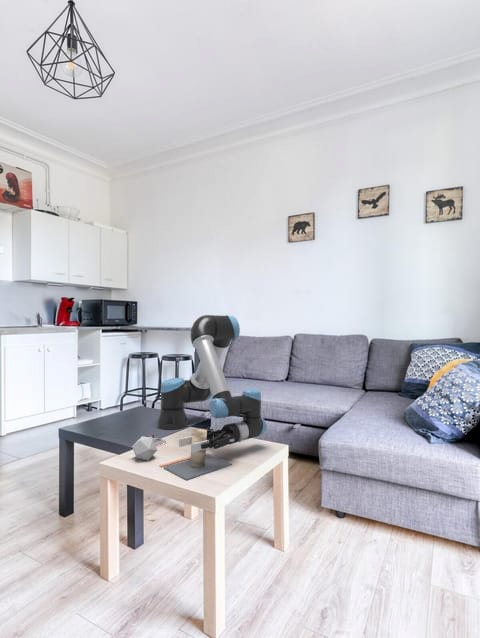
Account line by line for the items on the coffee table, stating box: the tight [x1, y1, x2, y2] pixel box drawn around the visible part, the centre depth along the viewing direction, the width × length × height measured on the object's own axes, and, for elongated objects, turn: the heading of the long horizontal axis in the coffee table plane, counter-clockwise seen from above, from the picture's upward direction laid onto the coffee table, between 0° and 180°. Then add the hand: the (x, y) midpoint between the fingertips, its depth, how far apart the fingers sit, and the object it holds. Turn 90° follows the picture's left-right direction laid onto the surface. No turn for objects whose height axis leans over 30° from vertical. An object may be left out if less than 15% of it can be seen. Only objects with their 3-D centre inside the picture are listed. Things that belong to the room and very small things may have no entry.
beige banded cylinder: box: [189, 428, 207, 467], centre depth 132 cm, size 5×5×12 cm
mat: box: [163, 453, 233, 482], centre depth 132 cm, size 20×14×1 cm
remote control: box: [149, 434, 167, 447], centre depth 159 cm, size 7×16×3 cm, turn 52°
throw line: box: [159, 453, 207, 468], centre depth 138 cm, size 20×2×1 cm, turn 133°
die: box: [132, 436, 158, 461], centre depth 140 cm, size 8×9×10 cm
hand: (186, 445), depth 129 cm, fingers open, 7 cm apart
